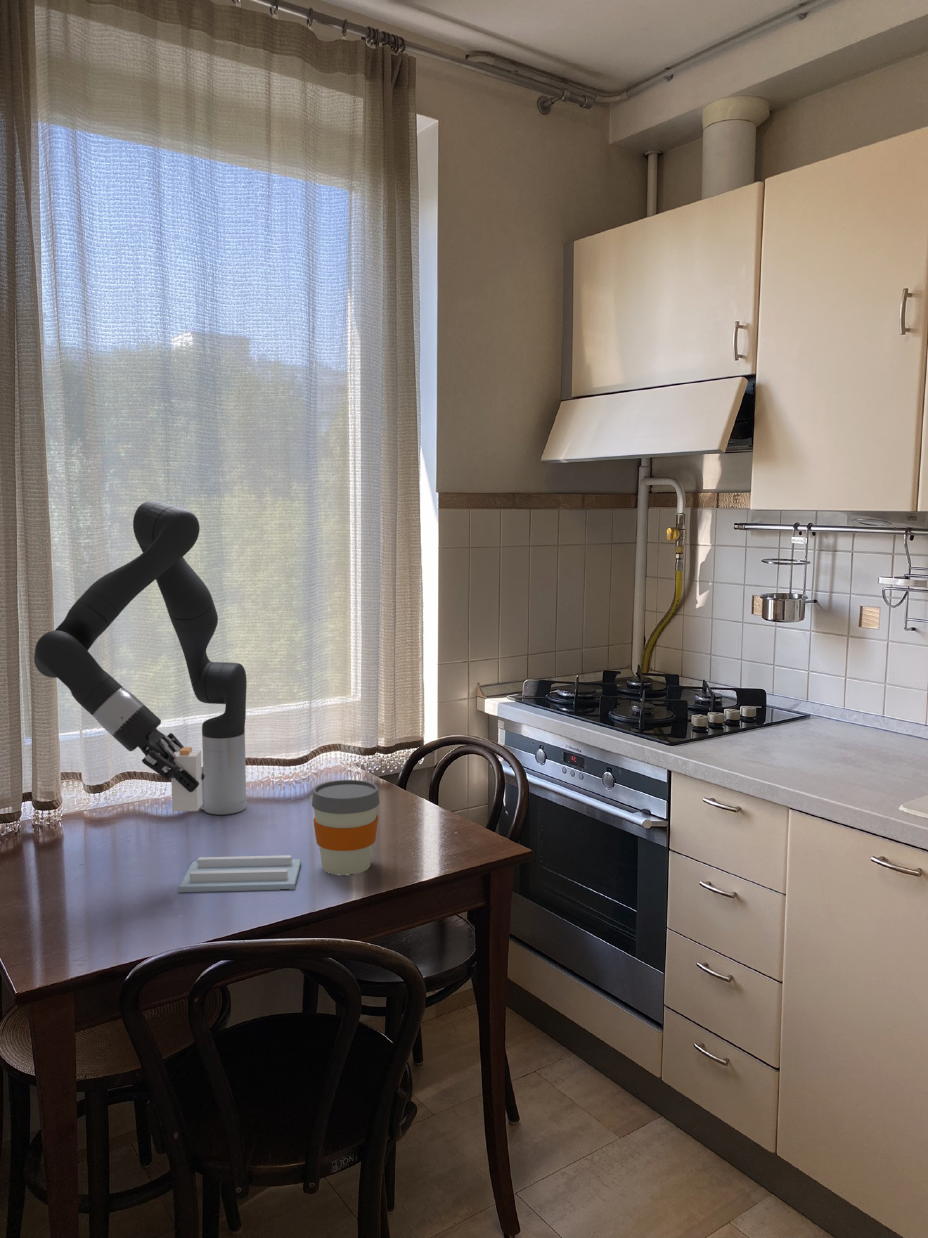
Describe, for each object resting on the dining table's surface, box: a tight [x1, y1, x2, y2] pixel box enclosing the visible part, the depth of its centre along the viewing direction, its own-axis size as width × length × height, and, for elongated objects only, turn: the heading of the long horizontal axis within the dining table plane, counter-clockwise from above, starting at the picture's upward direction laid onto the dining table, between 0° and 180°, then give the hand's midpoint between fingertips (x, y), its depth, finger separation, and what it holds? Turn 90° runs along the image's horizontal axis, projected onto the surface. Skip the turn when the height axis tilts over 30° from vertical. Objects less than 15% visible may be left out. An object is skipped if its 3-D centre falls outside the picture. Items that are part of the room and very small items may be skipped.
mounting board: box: [178, 854, 302, 893], centre depth 167 cm, size 20×12×2 cm, turn 95°
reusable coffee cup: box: [311, 779, 380, 876], centre depth 172 cm, size 12×13×15 cm
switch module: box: [170, 746, 203, 812], centre depth 165 cm, size 4×4×11 cm
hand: (198, 784), depth 165 cm, fingers closed on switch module, 4 cm apart
